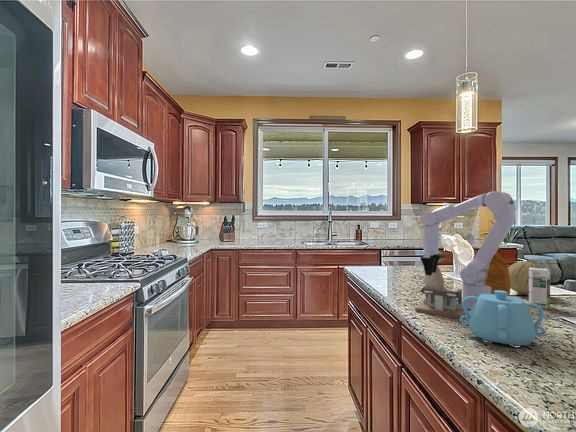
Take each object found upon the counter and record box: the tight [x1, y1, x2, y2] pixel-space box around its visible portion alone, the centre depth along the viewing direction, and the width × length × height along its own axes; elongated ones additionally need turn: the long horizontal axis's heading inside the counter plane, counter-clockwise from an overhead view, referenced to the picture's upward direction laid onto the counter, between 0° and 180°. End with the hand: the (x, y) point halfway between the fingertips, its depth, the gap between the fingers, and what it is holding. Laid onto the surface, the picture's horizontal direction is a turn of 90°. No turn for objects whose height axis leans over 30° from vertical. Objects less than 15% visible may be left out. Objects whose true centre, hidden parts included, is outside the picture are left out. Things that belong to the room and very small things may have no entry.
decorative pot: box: [459, 290, 547, 347], centre depth 92 cm, size 16×16×14 cm
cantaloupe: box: [508, 260, 542, 296], centre depth 143 cm, size 15×15×15 cm
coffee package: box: [484, 247, 511, 296], centre depth 133 cm, size 10×12×22 cm
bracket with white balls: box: [421, 285, 463, 306], centre depth 118 cm, size 8×12×5 cm, turn 54°
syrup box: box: [528, 267, 551, 309], centre depth 125 cm, size 6×6×14 cm
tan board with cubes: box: [414, 294, 465, 319], centre depth 118 cm, size 12×15×6 cm
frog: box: [419, 251, 452, 292], centre depth 148 cm, size 12×13×18 cm
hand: (430, 273), depth 135 cm, fingers open, 7 cm apart
